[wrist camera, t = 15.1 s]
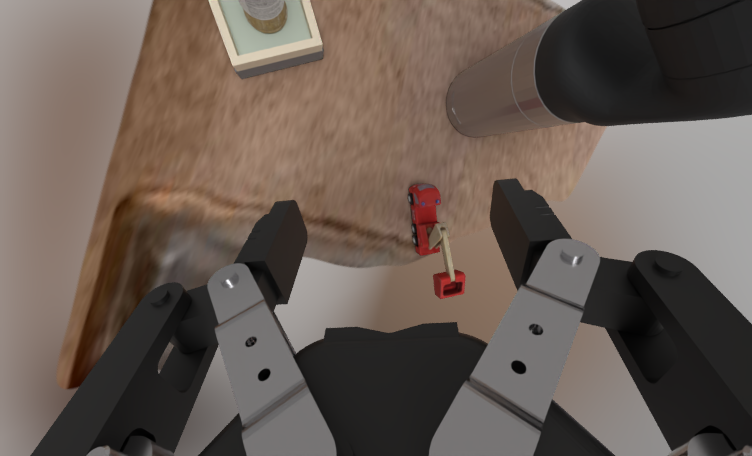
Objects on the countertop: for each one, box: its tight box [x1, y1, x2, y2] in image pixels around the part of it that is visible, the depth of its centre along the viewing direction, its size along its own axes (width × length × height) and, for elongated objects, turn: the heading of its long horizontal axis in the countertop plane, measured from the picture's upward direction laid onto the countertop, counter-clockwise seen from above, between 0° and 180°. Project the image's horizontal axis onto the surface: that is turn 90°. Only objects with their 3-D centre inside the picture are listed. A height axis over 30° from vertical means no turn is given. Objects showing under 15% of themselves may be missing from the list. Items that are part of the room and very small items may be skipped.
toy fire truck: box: [408, 184, 465, 299], centre depth 40 cm, size 3×14×10 cm, turn 8°
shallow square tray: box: [208, 0, 324, 79], centre depth 33 cm, size 10×10×5 cm
